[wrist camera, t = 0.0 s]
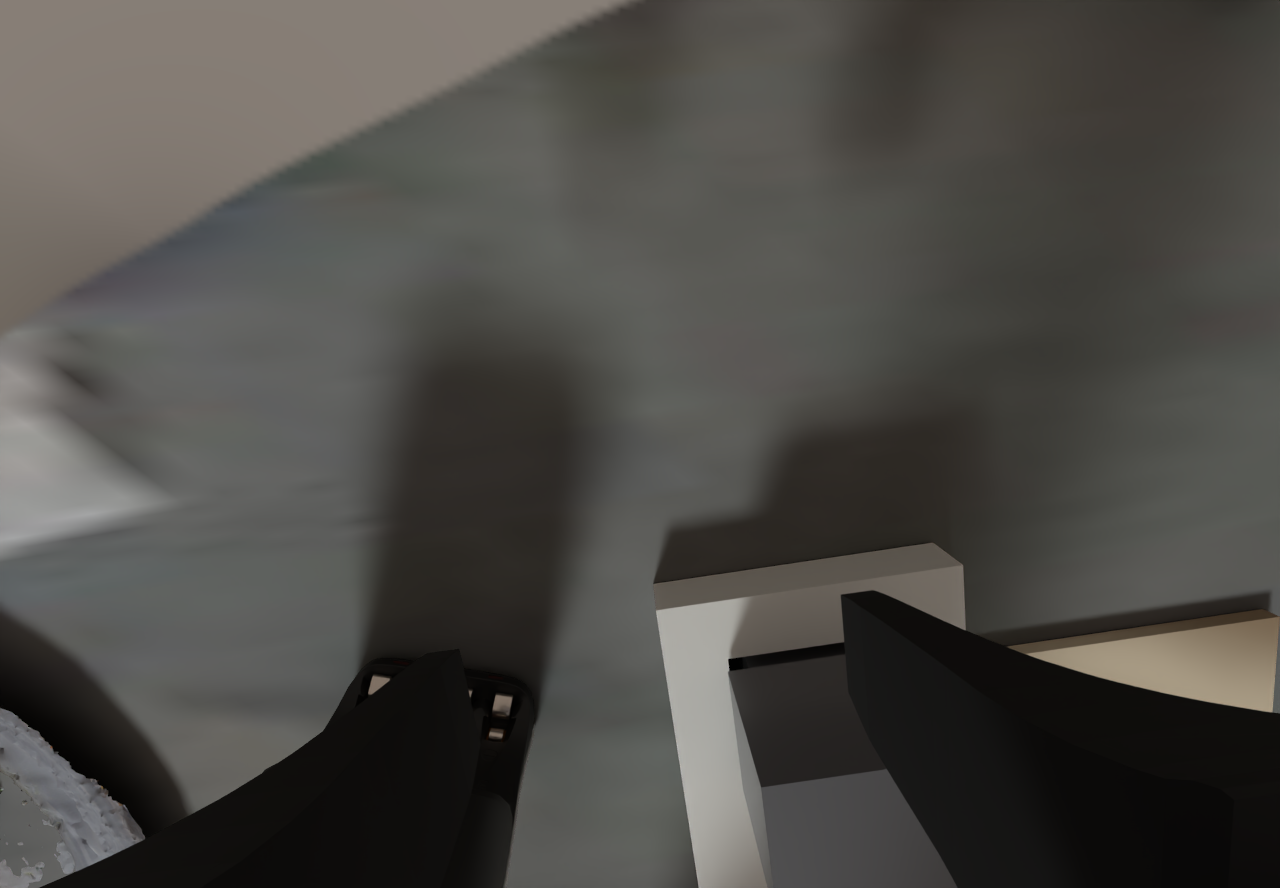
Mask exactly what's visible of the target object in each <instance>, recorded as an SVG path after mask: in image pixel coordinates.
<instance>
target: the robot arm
mask: <svg viewBox="0 0 1280 888" xmlns="http://www.w3.org/2000/svg"><path fill="white" fill-rule="evenodd" d="M841 607H842V619H843V632H844V644H845V657H846V670H847V682H848V693H849V695H850V697H851V700H852V702H853V704H854V707H855V709H856V711H857V714H858V716H859V718H860V720H861V723H862V725H863V727H864V729H865V731H866V733H867V736H868V738H869V740H870V742H871V743H872V745H873V747H874V749H875V750H876V752H877V754H878V755H879V757H880V759H881V760H882V762H883V764H884V765H885V767H886V769H887V770H888V772H889V774H890V775H891V777H892V779H893V780H894V782H895V783H896V785H897V787H898V788H899V790H900V792H901V793H902V795H903V796H904V798H905V800H906V801H907V803H908V805H909V806H910V808H911V809H912V811H913V813H914V814H915V816H916V818H917V819H918V821H919V823H920V824H921V826H922V827H923V829H924V831H925V832H926V834H927V836H928V837H929V839H930V840H931V842H932V844H933V845H934V847H935V849H936V850H937V852H938V853H939V855H940V857H941V859H942V861H943V862H944V864H945V866H946V868H947V869H948V871H949V873H950V875H951V877H952V878H953V880H954V882H955V884H956V886H957V888H1280V714H1279V713H1272V712H1265V711H1259V710H1253V709H1247V708H1241V707H1235V706H1229V705H1223V704H1218V703H1212V702H1206V701H1201V700H1196V699H1191V698H1186V697H1181V696H1175V695H1171V694H1166V693H1162V692H1157V691H1153V690H1149V689H1145V688H1140V687H1136V686H1132V685H1128V684H1123V683H1119V682H1115V681H1111V680H1108V679H1104V678H1100V677H1096V676H1093V675H1089V674H1086V673H1082V672H1079V671H1076V670H1073V669H1070V668H1066V667H1063V666H1060V665H1057V664H1053V663H1050V662H1047V661H1044V660H1041V659H1038V658H1035V657H1032V656H1029V655H1026V654H1024V653H1021V652H1018V651H1016V650H1013V649H1010V648H1008V647H1005V646H1003V645H1000V644H998V643H995V642H992V641H990V640H987V639H985V638H982V637H980V636H978V635H975V634H973V633H970V632H968V631H966V630H963V629H961V628H959V627H957V626H954V625H952V624H950V623H948V622H945V621H943V620H941V619H939V618H937V617H934V616H932V615H930V614H928V613H926V612H923V611H921V610H919V609H917V608H915V607H913V606H910V605H908V604H906V603H904V602H902V601H899V600H897V599H895V598H893V597H890V596H888V595H886V594H883V593H881V592H878V591H875V590H870V591H863V592H856V593H849V594H842V595H841ZM480 745H481V744H480V739H479V735H478V730H477V726H476V721H475V717H474V713H473V708H472V704H471V699H470V695H469V690H468V686H467V681H466V677H465V672H464V668H463V664H462V659H461V655H460V650H459V649H455V650H448V651H441V652H434V653H427V654H426V655H424V656H422V657H421V658H419V659H418V660H416V661H415V662H413V663H412V664H411V665H409V666H408V667H406V668H405V669H404V670H402V671H401V672H400V673H399V674H397V675H396V676H395V677H393V678H392V679H391V680H390V681H388V682H387V683H386V684H384V685H383V686H382V687H381V688H379V689H378V690H377V691H376V692H374V693H373V694H372V695H370V696H369V697H368V698H367V699H365V700H364V701H363V702H361V703H360V704H359V705H358V706H356V707H355V708H354V709H353V710H351V711H350V712H349V713H347V714H346V715H345V716H343V717H342V718H341V719H339V720H338V721H337V722H335V723H334V724H332V725H331V726H330V727H328V728H327V729H326V730H324V731H323V732H321V733H320V734H319V735H317V736H316V737H315V738H313V739H312V740H310V741H309V742H308V743H306V744H305V745H304V746H302V747H301V748H299V749H298V750H297V751H295V752H294V753H292V754H291V755H289V756H288V757H286V758H285V759H283V760H282V761H280V762H279V763H277V764H276V765H274V766H273V767H271V768H270V769H268V770H267V771H265V772H263V773H262V774H260V775H259V776H257V777H255V778H254V779H252V780H251V781H249V782H247V783H246V784H244V785H242V786H241V787H239V788H238V789H236V790H234V791H233V792H231V793H229V794H228V795H226V796H224V797H222V798H221V799H219V800H217V801H215V802H213V803H212V804H210V805H208V806H206V807H204V808H202V809H200V810H199V811H197V812H195V813H193V814H191V815H189V816H188V817H186V818H184V819H182V820H180V821H178V822H177V823H175V824H173V825H171V826H169V827H167V828H165V829H164V830H162V831H160V832H158V833H156V834H154V835H152V836H150V837H148V838H146V839H144V840H142V841H140V842H138V843H136V844H134V845H132V846H130V847H128V848H126V849H124V850H122V851H120V852H118V853H116V854H113V855H111V856H109V857H107V858H105V859H103V860H101V861H98V862H96V863H94V864H92V865H90V866H87V867H85V868H83V869H81V870H79V871H76V872H74V873H72V874H70V875H68V876H65V877H63V878H61V879H59V880H56V881H54V882H52V883H49V884H47V885H45V886H42V887H40V888H441V885H442V882H443V879H444V876H445V873H446V870H447V867H448V864H449V861H450V858H451V855H452V852H453V849H454V847H455V844H456V841H457V837H458V834H459V831H460V828H461V825H462V822H463V819H464V816H465V813H466V810H467V807H468V803H469V800H470V797H471V792H472V787H473V783H474V778H475V773H476V767H477V762H478V756H479V750H480Z"/></svg>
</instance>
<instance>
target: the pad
mask: <svg viewBox="0 0 1280 888" xmlns="http://www.w3.org/2000/svg"><path fill="white" fill-rule="evenodd" d="M1279 618H1280V617H1279V616H1277V615H1275V614H1273V613H1270V612H1268V611H1266V610H1264V609H1259V610H1252V611H1245V612H1238V613H1232V614H1225V615H1218V616H1211V617H1204V618H1198V619H1191V620H1184V621H1177V622H1170V623H1163V624H1157V625H1150V626H1143V627H1136V628H1129V629H1123V630H1116V631H1109V632H1102V633H1095V634H1088V635H1082V636H1075V637H1068V638H1061V639H1054V640H1048V641H1041V642H1034V643H1027V644H1020V645H1013V646H1007V647H1008V648H1010V649H1013V650H1016V651H1018V652H1021V653H1024V654H1026V655H1029V656H1032V657H1035V658H1038V659H1041V660H1044V661H1047V662H1050V663H1053V664H1057V665H1060V666H1063V667H1066V668H1070V669H1073V670H1076V671H1079V672H1082V673H1086V674H1089V675H1093V676H1096V677H1100V678H1104V679H1108V680H1111V681H1115V682H1119V683H1123V684H1128V685H1132V686H1136V687H1140V688H1145V689H1149V690H1153V691H1157V692H1162V693H1166V694H1171V695H1175V696H1181V697H1186V698H1191V699H1196V700H1201V701H1206V702H1212V703H1218V704H1223V705H1229V706H1235V707H1241V708H1247V709H1253V710H1259V711H1265V712H1272V709H1273V696H1274V683H1275V670H1276V657H1277V644H1278V631H1279Z"/></svg>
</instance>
